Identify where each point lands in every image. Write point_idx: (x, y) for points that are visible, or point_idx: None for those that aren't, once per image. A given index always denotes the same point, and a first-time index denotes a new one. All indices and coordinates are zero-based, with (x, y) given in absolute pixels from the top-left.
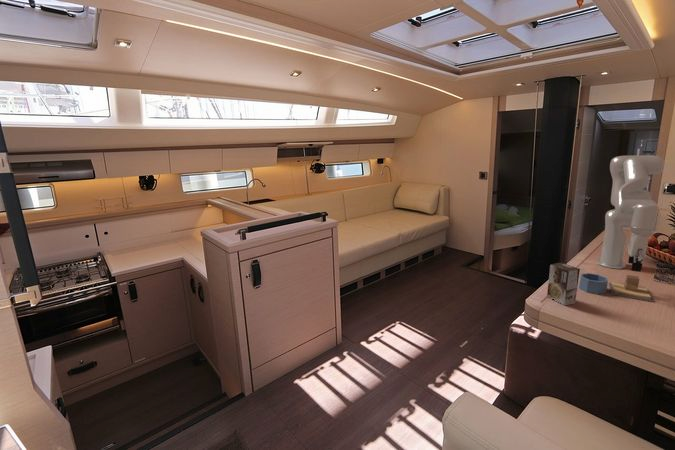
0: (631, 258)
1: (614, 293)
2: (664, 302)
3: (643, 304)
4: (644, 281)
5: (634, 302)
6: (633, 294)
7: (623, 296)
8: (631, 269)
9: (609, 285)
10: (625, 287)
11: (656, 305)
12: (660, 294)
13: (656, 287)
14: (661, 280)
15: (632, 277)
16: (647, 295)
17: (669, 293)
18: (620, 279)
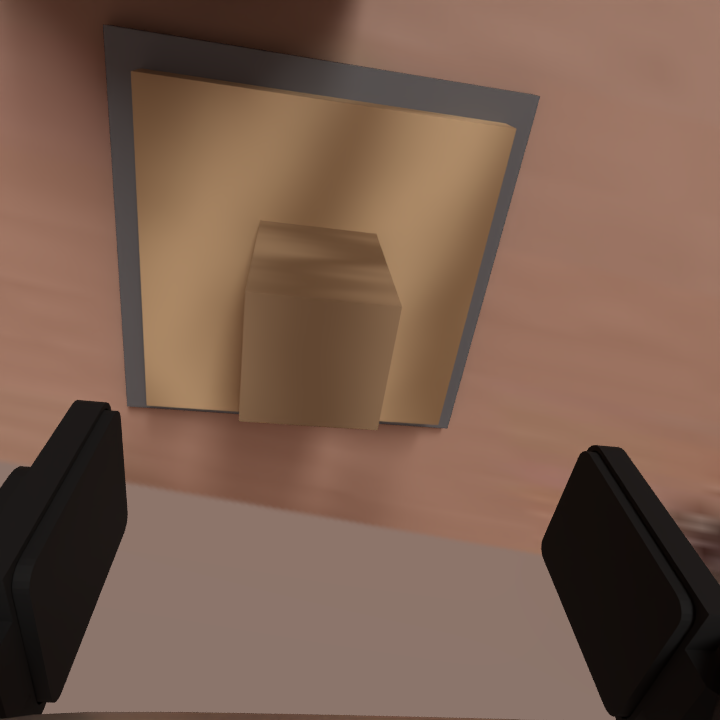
0: (626, 565)
1: (145, 68)
2: (182, 467)
3: (5, 307)
4: (666, 445)
5: (5, 238)
6: (142, 271)
7: (113, 161)
8: (68, 410)
9: (456, 82)
10: (277, 230)
11: (59, 402)
12: (370, 481)
13: (533, 489)
14: (700, 545)
15: (285, 356)
16: (183, 389)
17: (419, 533)
18: (704, 265)
